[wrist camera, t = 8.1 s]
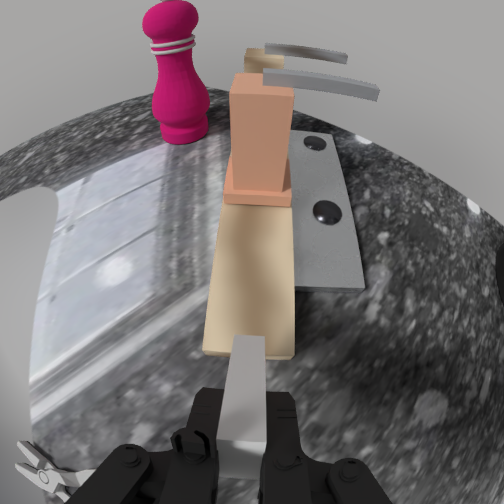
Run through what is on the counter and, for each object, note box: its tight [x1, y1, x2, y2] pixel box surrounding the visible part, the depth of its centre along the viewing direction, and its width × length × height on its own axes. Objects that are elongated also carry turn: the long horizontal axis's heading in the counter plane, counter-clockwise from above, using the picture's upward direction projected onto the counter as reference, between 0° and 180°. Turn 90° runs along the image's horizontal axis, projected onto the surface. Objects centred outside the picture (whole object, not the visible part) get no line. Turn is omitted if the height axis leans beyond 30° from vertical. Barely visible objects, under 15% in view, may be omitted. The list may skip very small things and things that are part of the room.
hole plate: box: [288, 130, 365, 293], centre depth 26 cm, size 6×21×1 cm, turn 177°
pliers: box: [15, 441, 96, 502], centre depth 10 cm, size 10×2×15 cm
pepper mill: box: [142, 0, 210, 145], centre depth 24 cm, size 7×7×20 cm
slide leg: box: [223, 68, 380, 207], centre depth 19 cm, size 11×5×11 cm, turn 87°
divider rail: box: [202, 43, 348, 360], centre depth 20 cm, size 11×26×13 cm, turn 177°
